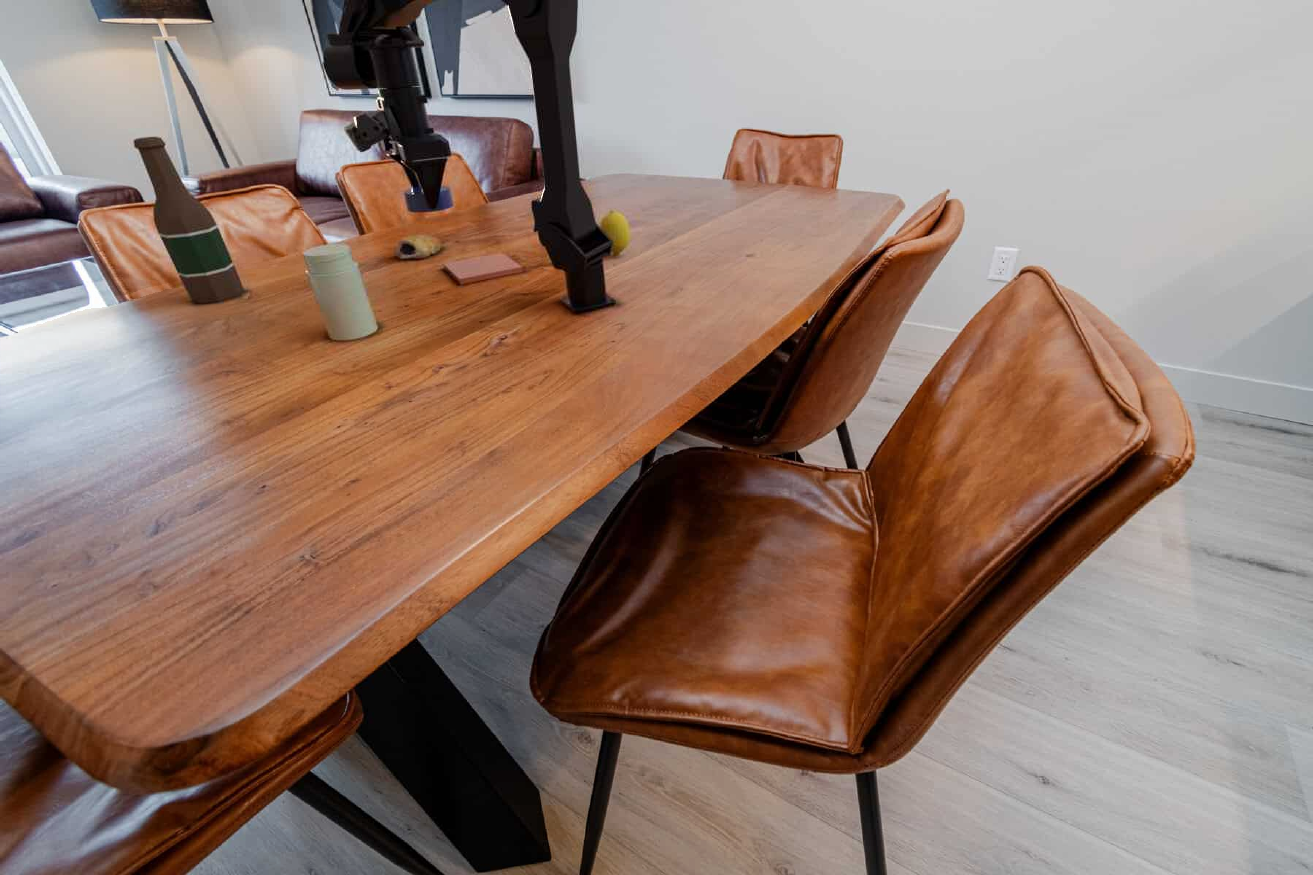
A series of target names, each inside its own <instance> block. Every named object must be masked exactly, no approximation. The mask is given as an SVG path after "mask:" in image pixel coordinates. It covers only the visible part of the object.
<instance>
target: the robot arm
mask: <svg viewBox="0 0 1313 875" xmlns="http://www.w3.org/2000/svg"><path fill="white" fill-rule="evenodd" d="M437 1H438V0H343V7H342V11H341V12H342V13H341V18H340V22H339V30H338V33H327V35H326V36H327V37H326V38H327V40H328V45H327V46H326V47H325V49H324V52H323V61H322V66H323V69H324V72H325V74H326V76H327V78H328V80H329V81H330V82H331V83H332V84H333V85H334V86H335V87H336V88H338V89H340V90H342V91H350V90H351V91H353V90H373V89H375V90H376V89H377V91H378V95H379V96H378V97H377V99H376V100H375V103H376V107H377V110H375V111H372V112H370V113H368V114H367V113H366V112H361V114H359V115H357V116H354V117H353V122H351V123H349V124H347V125H346V126H345V127H343V131H344V132H345V134H346V135H347V136H348V138H349V140H350V141H351V142H352V144H353V147H355V149H356V150H357V151H358V152H360V153H364V152H366V151H369V150H371V149H372V147H373V146H374V145H377V144H378V143H379V144H380V147H381V150H382V151H384V152H388V153H386V155H387V156H388V158H390V159H391V160H393V161H394V162H396V163H397V164H399V165H400V167H401V168H402V170H403V172H404V174H405V176H406V178H407V180H408V182H409V185H410V186H411V188H416V187H420V188H421V190H422V192H423V195H424V197H425V200H426V202H427V204H428V207H429V208H430V209H436V208H437V206H438V200H439V195H440V189H441V185H442V184H443V179H444V174H445V169H446V166H447V162H448V157H452V150H451V145H450V141H449V140H448V139H446V138H445V137H444V136H443V135H442V134H440V133H436V132H435V129H434V127H432V126H430V121H429V117H428V113H427V108H426V104H428V102H429V101H428V97H427V94H423V90H422V86H421V81H420V76H419V72H418V68H417V63H416V60H415V55H414V50H413V48H423V47H424V46H425V41H424V40H423V39H422V38H420V36H418V35H417V34H415V33H414V32H413V30H412V29H411V28H410V26H409V25H411V24H412V23H414V22H415V21H417V19H418V18H419V17H421V14H422V11H423V9H425V8H426V7H428V5H430V4H432V3H434V2H437ZM500 1H501V2H502V3H503V4H505V5H506V6H507V8H508V12H509V16H510V20H511V23H512V27H513V31H514V34H515V37H516V38H517V40H518V42H519V44H520V46H521V48H522V50H523V51H524V53H525V55H526V57H527V59H528V62H529V68H530V76H531V84H532V85H531V86H532V92H533V102H534V109H535V117H536V118H535V119H536V124H537V125H536V126H537V134H538V142H539V151H540V157H541V158H540V159H541V166H542V174H543V181H544V182H543V184H544V185H543V191H542V194H541V197H538V198H535V199H533V200H531V202H530V203H531V205H530V208H531V212H532V215H533V221H534V223H533V224H534V225H533V232H534V233H537V236H538V241H539V242H540V245H541V246H542V247H544V249H545V250H546V252H547V255H548V258H549V260H550V262H551V264H552V267H553V268H554V269H555V270H559V271H560V270H561V271H563V272H564V277H565V279H564V280H565V287H566V294H567V296H562V297H560V298H559V302H560V303H562V304H563V305H564V306H566V307H567V308H568V309H570V310H571V311H573V312H574V313H576V314H579V313H583V312H588V311H592V310H596V309H600V308H601V309H602V308H605V307H609V306H613V305H616V304H617V300H616V299H614V298H613V297H611V296H610V295H609V294H607V288H606V287H607V286H606V277H605V266H604V258H606V257H609V256H611V255H612V253H611V251H612V247H613V241H612V240H611V239H610V238H609V236H608V235H607V234H606V233H605V232H604V231H603V230H602V229H601V228H600V225H599V224H598V223H597V222H596V217H595V212H594V208H593V206H592V201H591V199H590V198H589V195H588V194H587V192H586V190H585V188H584V186H583V185H582V182H581V181H582V180H581V176H580V165H579V164H580V163H579V155H578V153H579V152H578V145H577V143H578V142H577V132H576V130H577V129H576V121H575V111H574V110H575V109H574V100H573V89H572V88H573V87H572V77H571V66H570V65H571V64H570V58H571V54H572V50H573V47H574V44H575V40H576V36H577V33H578V11H579V0H500ZM390 150H391V152H390ZM389 152H390V153H389Z"/></svg>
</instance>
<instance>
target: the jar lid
mask: <svg viewBox="0 0 1313 875" xmlns="http://www.w3.org/2000/svg"><path fill="white" fill-rule="evenodd" d="M402 195H403V199H404V203H405V206H406V210H407V211H408V212H410V213H416V214H417V213H418V214H419V213H434V212H440V211H444V210H448V209H451V208H452V207H454V200H453V196H452V191H451V187H450V186H448V185H442V184H441V189H440V195H439V200H438V206H437V208H436V209H430V208H429V207H428V204H427V202H426V200H425V197H424V195H423V192H422V190H421V188H420V187H416V188H412V187H411V188H408V189H405V190H403V191H402Z"/></svg>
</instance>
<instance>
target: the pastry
mask: <svg viewBox="0 0 1313 875" xmlns="http://www.w3.org/2000/svg"><path fill="white" fill-rule="evenodd" d="M441 242H442V241H441V240H440V238H439V237H437V236H431V235H428V234H426V235H425V234H418V235H417V234H410V235H409V236H406V237H403V238H401V239H399V240H398V241H397V245H396V246H395V251H394V254H395V256H397V258H399V259H400V260H411V259H415V260H417V259H425V258H427V257H429V256H430V255H431V254H433V255H435V254H436V253H438V252H439V251H440V250H441V248H442V243H441Z"/></svg>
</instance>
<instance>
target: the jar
mask: <svg viewBox="0 0 1313 875" xmlns="http://www.w3.org/2000/svg"><path fill="white" fill-rule="evenodd" d="M302 257H303V259H304V262H305V265H306V267H307V269H306V270H305V275H306V277H307V280H308V283H309V285H310V290H312V294H313V296H314V299H315V302H316V305H317V308H318V311H319V313H320V316H321V320H322V321H323V324H324V327H325V329H326V332H327V335H328V338H329V339H331V340H333V341H339V342H341V341H343V342H344V341H352V340H353V341H354V340H357V339H362V338H365V337H367V336H369V335H371V334H374V333H375V332H376V331H377V330H378V329H379V326H378V322H377V319H376V316H375V313H374V309H373V307H372V304H371V300H370V297H369V294H368V291H367V288H366V285H365V282H364V278H363V274H362V272H361V268H360V266H359V263H358V262H356V261H355V260H354V258H353V254H352V248H351V247H350V246H349V245H348V244H345V243H332V244H325V245H319V246H315V247H311V248H308V249H306V250H304V251H303V252H302Z"/></svg>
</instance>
